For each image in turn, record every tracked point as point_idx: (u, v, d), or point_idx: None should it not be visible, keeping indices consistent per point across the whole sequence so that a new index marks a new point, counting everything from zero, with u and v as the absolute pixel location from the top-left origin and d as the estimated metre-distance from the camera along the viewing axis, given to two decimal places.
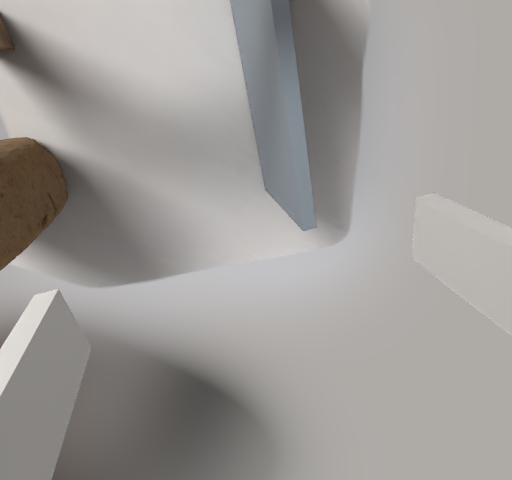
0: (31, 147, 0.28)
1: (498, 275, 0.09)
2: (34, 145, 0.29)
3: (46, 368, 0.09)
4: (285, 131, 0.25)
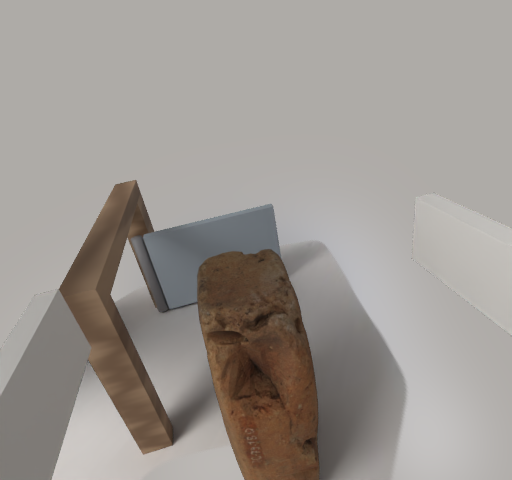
0: None
1: (498, 275, 0.09)
2: None
3: (46, 368, 0.09)
4: (219, 225, 0.48)
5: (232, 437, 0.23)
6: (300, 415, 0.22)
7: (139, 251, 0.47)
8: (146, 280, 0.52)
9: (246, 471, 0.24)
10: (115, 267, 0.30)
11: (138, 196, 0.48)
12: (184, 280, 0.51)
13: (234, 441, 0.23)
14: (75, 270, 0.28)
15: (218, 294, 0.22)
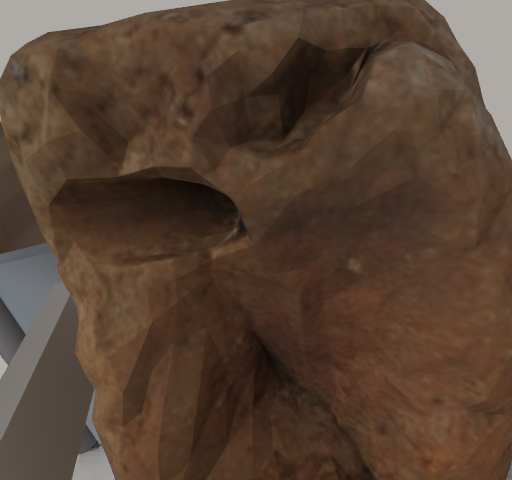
0: None
1: None
2: None
3: (70, 352, 0.10)
4: None
5: None
6: None
7: None
8: None
9: None
10: None
11: None
12: None
13: None
14: None
15: None
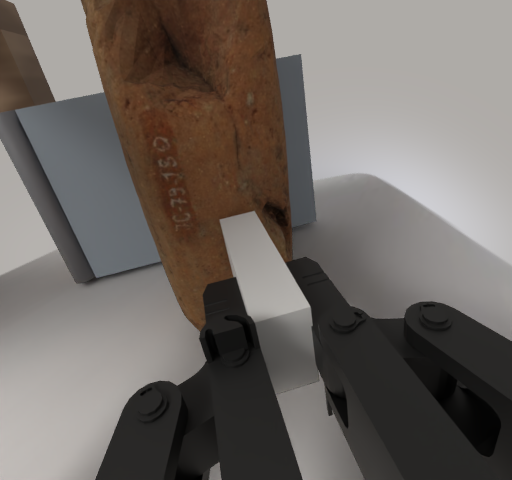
0: None
1: None
2: None
3: None
4: None
5: (136, 173, 0.13)
6: (253, 127, 0.13)
7: (10, 143, 0.21)
8: None
9: (170, 258, 0.15)
10: None
11: (13, 29, 0.22)
12: (120, 217, 0.25)
13: (140, 182, 0.13)
14: None
15: None
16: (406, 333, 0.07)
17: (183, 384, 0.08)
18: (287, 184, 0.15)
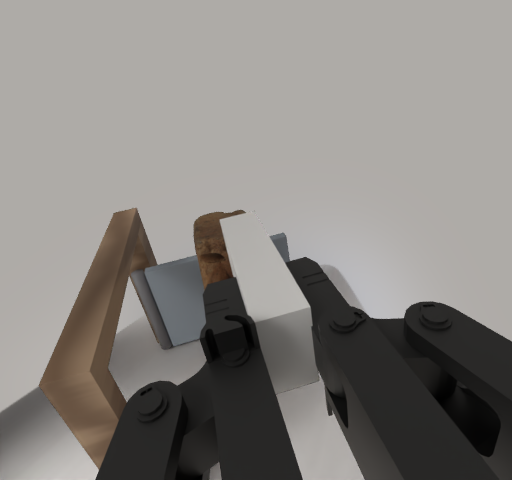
0: None
1: None
2: None
3: None
4: None
5: None
6: None
7: (140, 287, 0.43)
8: None
9: None
10: (113, 328, 0.26)
11: (139, 226, 0.44)
12: (189, 315, 0.47)
13: None
14: (67, 338, 0.23)
15: (206, 232, 0.35)
16: (406, 333, 0.07)
17: (183, 384, 0.08)
18: None
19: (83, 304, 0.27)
